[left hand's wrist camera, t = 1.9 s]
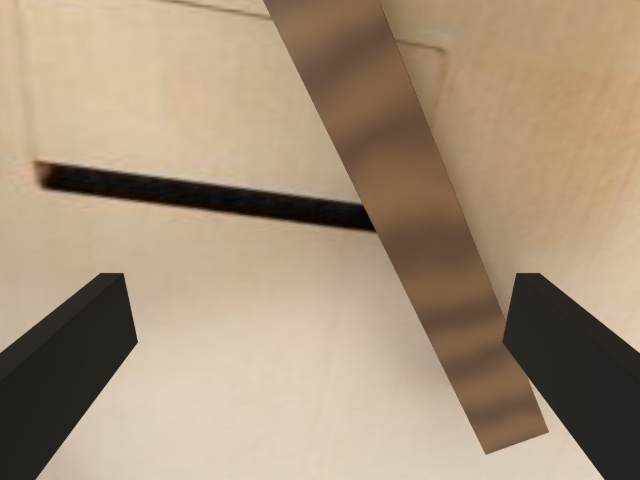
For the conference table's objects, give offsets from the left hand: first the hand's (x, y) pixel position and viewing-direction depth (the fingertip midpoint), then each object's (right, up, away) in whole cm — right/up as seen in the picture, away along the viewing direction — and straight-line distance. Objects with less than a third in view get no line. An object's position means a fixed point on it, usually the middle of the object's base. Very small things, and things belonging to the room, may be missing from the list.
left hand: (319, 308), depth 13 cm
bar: (+2, +14, +17) cm, 22 cm away
